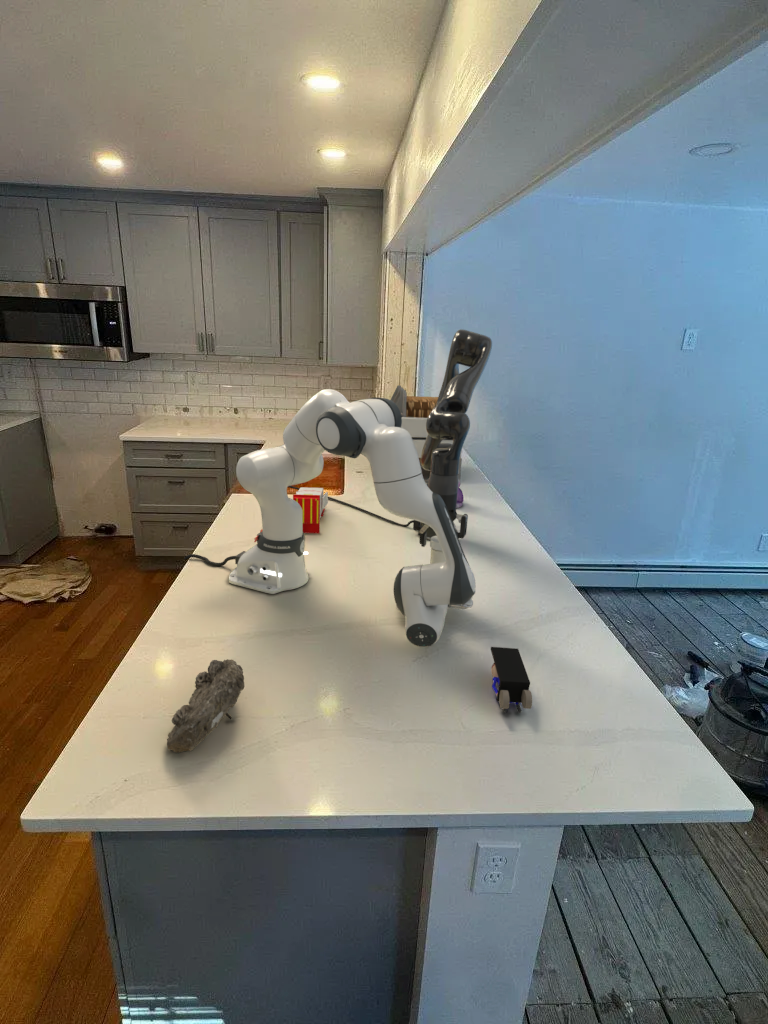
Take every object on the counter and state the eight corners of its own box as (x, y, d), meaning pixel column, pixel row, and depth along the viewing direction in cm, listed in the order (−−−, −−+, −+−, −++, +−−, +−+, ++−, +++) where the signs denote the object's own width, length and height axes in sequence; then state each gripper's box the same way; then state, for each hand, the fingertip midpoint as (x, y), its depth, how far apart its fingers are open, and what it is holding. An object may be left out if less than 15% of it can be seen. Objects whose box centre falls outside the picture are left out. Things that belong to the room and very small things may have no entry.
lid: (429, 542, 152) (430, 534, 152) (448, 543, 152) (449, 536, 151) (430, 550, 148) (430, 542, 147) (449, 551, 147) (450, 543, 147)
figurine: (450, 510, 225) (453, 474, 220) (436, 502, 234) (439, 467, 228) (469, 507, 229) (473, 472, 224) (455, 500, 238) (458, 465, 233)
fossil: (192, 660, 117) (244, 628, 112) (224, 691, 120) (276, 661, 115) (142, 746, 98) (202, 712, 93) (182, 779, 101) (242, 748, 96)
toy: (329, 482, 221) (323, 496, 191) (328, 516, 224) (322, 535, 194) (297, 482, 220) (287, 495, 191) (297, 515, 223) (287, 534, 194)
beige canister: (444, 598, 157) (449, 539, 151) (441, 605, 153) (446, 545, 147) (429, 595, 158) (434, 537, 152) (425, 602, 154) (430, 542, 148)
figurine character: (531, 725, 112) (514, 671, 125) (537, 696, 108) (519, 644, 122) (497, 724, 111) (484, 671, 125) (502, 695, 108) (488, 644, 121)
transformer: (382, 463, 289) (386, 382, 275) (445, 464, 293) (451, 384, 279) (390, 482, 257) (394, 392, 243) (460, 483, 261) (468, 394, 247)
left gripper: (473, 597, 138) (476, 573, 151) (391, 586, 142) (401, 563, 155) (471, 620, 141) (474, 594, 153) (390, 608, 144) (400, 584, 157)
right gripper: (473, 489, 145) (467, 548, 151) (420, 481, 150) (416, 538, 156) (466, 497, 139) (461, 558, 144) (411, 489, 143) (407, 548, 149)
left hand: (437, 578), depth 154 cm, fingers closed on beige canister, 4 cm apart
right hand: (438, 548), depth 150 cm, fingers open, 7 cm apart
